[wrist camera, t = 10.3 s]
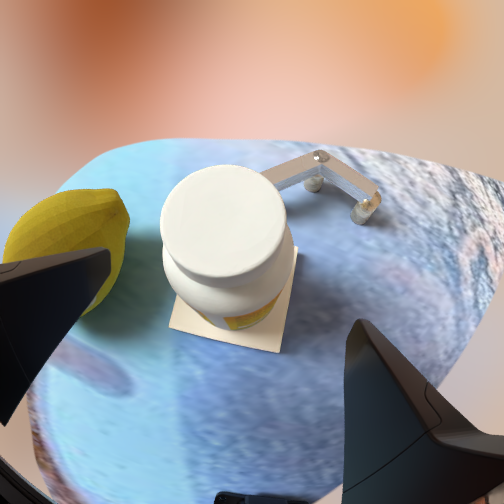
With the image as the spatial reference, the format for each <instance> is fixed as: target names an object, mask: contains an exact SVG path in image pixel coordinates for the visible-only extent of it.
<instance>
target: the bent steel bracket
mask: <svg viewBox="0 0 504 504" xmlns="http://www.w3.org/2000/svg"><path fill="white" fill-rule="evenodd" d="M260 174H261V175H263V176H264V177H265V178H267V179H268V180H269V181H270V182H271V183H272V184H273V185H274V186H275V187H276V189H277V190H278V192H279V191H281V190H284V189H286V188H288V187H290V186H293V185H295V184H297V183H300V182H302V181H304V187H305V189H306V190H308V191H310V192H317V191H319V190H320V188H321V185H322V182H323V180H324V178H325V179H327V180H328V181H330V182H331V183H333V184H334V185H336V186H337V187H339V188H340V189H342V190H343V191H345V192H346V193H348V194H349V195H351V196H352V197H353V198H355V199H356V200H358V202H357V204H356V205H355V207H354V208H353V210H352V212H351V214H350V216H351V219H352V221H353V222H354V223H356V224H358V225H363V224H365V222H366V221H367V220H368V219H369V217H370V216H371V215H372V213H373V212H374V211H375V209H376V208H377V207H378V205H379V204H380V203H381V195H380V194H379V192H378V191H377V189H378V187H379V186H377V185H376V184H374V183H373V182H372V181H370V180H369V179H367V178H366V177H364V176H363V175H361V174H360V173H358V172H357V171H355V170H354V169H352V168H351V167H349V166H348V165H346V164H345V163H343V162H341V161H340V160H338V159H337V158H335V157H334V156H332V155H330V154H329V153H327V152H325V151H323V150H316V151H314V152H311V153H308V154H306V155H303V156H300V157H298V158H295V159H293V160H290V161H288V162H285V163H283V164H280V165H278V166H275V167H273V168H270V169H268V170H265V171H263V172H261V173H260Z"/></svg>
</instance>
